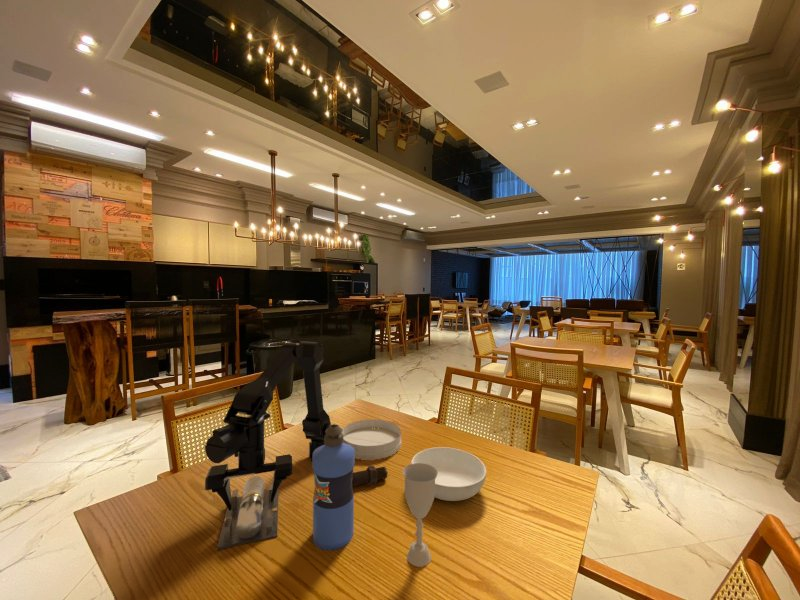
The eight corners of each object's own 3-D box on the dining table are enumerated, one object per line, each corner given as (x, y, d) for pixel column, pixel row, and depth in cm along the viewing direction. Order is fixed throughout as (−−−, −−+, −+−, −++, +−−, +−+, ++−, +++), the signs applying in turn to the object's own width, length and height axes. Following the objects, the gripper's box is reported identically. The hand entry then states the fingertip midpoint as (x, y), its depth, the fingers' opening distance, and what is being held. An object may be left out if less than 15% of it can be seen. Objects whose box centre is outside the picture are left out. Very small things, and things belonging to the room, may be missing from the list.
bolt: (386, 486, 95) (335, 497, 89) (381, 470, 99) (332, 479, 92) (391, 474, 92) (338, 485, 86) (385, 458, 96) (335, 467, 90)
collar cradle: (278, 491, 88) (278, 478, 88) (277, 536, 72) (277, 520, 72) (229, 501, 84) (229, 487, 84) (216, 550, 68) (216, 533, 68)
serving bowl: (488, 519, 79) (489, 491, 79) (404, 506, 83) (404, 480, 83) (483, 472, 99) (484, 450, 99) (416, 464, 103) (417, 443, 103)
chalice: (436, 545, 70) (437, 464, 70) (436, 572, 64) (438, 483, 63) (403, 542, 71) (403, 462, 71) (400, 568, 64) (400, 480, 64)
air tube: (265, 492, 87) (264, 474, 87) (261, 534, 72) (260, 512, 72) (244, 497, 85) (243, 478, 85) (236, 541, 70) (234, 519, 70)
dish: (328, 454, 109) (328, 440, 109) (355, 428, 130) (355, 416, 130) (390, 466, 103) (390, 450, 102) (408, 436, 124) (408, 423, 124)
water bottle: (336, 514, 80) (336, 414, 79) (362, 532, 74) (363, 425, 73) (303, 536, 73) (303, 426, 72) (330, 558, 67) (330, 439, 66)
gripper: (291, 423, 89) (291, 479, 89) (214, 433, 82) (214, 493, 83) (292, 441, 78) (292, 504, 79) (204, 454, 72) (204, 523, 72)
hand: (251, 505), depth 78 cm, fingers open, 9 cm apart
